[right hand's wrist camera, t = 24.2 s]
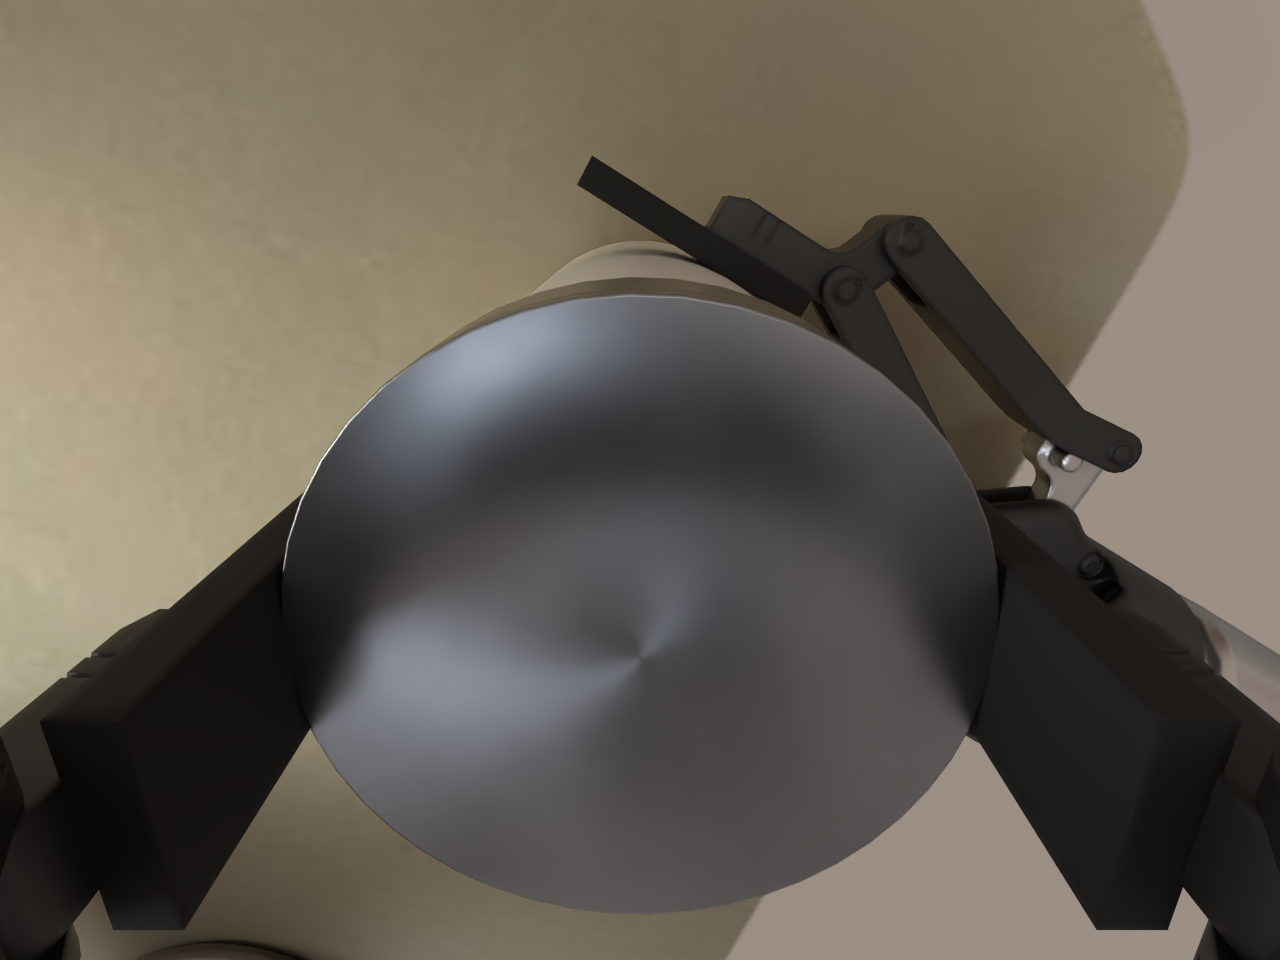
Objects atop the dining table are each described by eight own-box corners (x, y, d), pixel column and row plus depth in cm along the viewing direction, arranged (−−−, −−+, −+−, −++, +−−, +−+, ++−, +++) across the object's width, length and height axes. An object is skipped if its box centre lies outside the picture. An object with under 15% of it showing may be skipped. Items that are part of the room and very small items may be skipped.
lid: (871, 841, 14) (906, 937, 12) (345, 798, 13) (300, 890, 12) (1021, 316, 10) (1102, 340, 9) (319, 239, 10) (249, 247, 8)
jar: (789, 449, 28) (994, 786, 12) (563, 514, 29) (467, 909, 13) (728, 204, 25) (893, 210, 9) (477, 286, 26) (207, 428, 10)
